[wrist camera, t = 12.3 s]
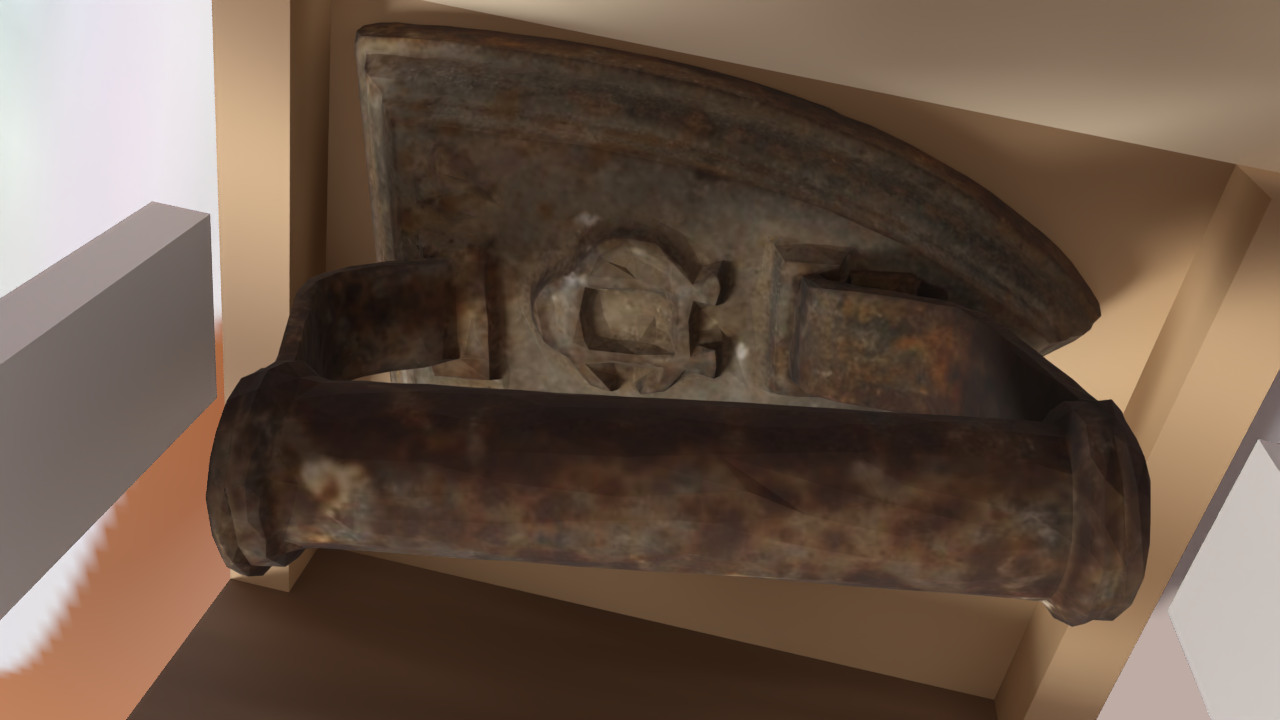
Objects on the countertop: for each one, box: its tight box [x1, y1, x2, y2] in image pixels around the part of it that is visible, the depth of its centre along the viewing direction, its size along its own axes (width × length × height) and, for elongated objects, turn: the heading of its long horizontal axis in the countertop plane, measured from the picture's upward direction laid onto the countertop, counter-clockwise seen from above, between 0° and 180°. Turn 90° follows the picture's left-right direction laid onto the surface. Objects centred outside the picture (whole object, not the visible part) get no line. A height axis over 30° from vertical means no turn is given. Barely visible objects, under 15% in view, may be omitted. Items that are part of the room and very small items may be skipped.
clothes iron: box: [206, 22, 1151, 627], centre depth 14 cm, size 7×11×10 cm, turn 90°
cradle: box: [126, 0, 1280, 720], centre depth 13 cm, size 20×15×10 cm
